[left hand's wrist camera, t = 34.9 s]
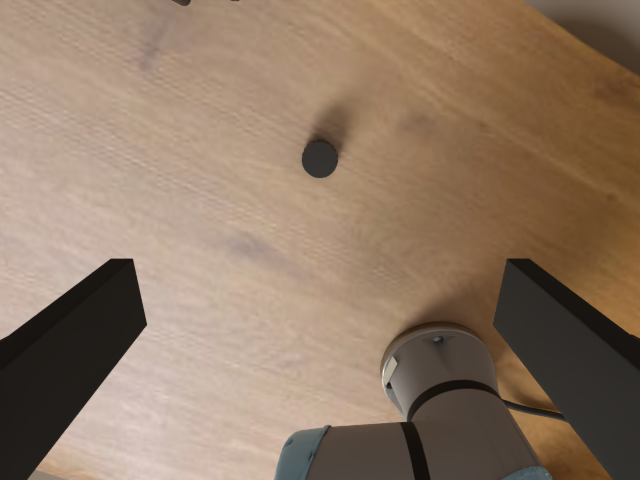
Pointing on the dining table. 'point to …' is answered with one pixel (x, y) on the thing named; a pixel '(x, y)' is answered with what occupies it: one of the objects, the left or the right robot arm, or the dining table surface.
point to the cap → (319, 159)
